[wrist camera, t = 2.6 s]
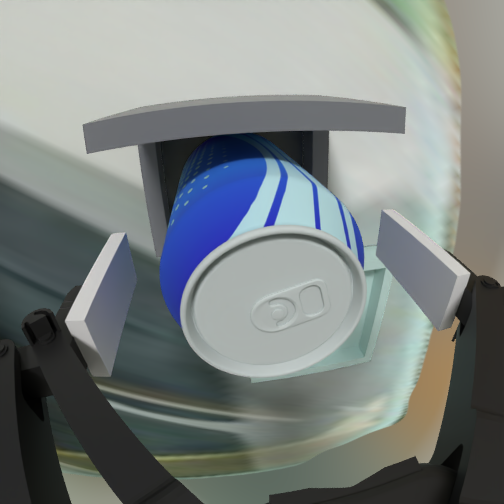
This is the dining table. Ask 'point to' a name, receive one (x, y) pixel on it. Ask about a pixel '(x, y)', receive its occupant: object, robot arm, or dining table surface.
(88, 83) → the dining table surface
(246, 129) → the bay
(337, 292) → the beer can
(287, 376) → the tray
